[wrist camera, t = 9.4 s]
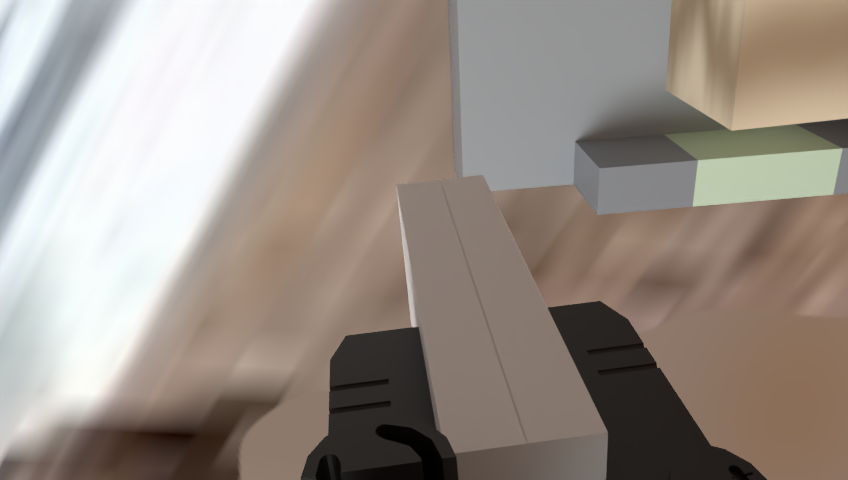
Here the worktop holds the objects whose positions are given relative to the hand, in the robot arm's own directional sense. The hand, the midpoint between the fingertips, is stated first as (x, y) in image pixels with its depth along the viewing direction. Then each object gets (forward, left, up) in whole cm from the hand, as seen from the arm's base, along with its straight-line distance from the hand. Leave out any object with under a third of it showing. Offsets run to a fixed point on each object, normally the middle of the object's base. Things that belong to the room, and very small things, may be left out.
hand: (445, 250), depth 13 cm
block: (-1, +15, -18) cm, 23 cm away
